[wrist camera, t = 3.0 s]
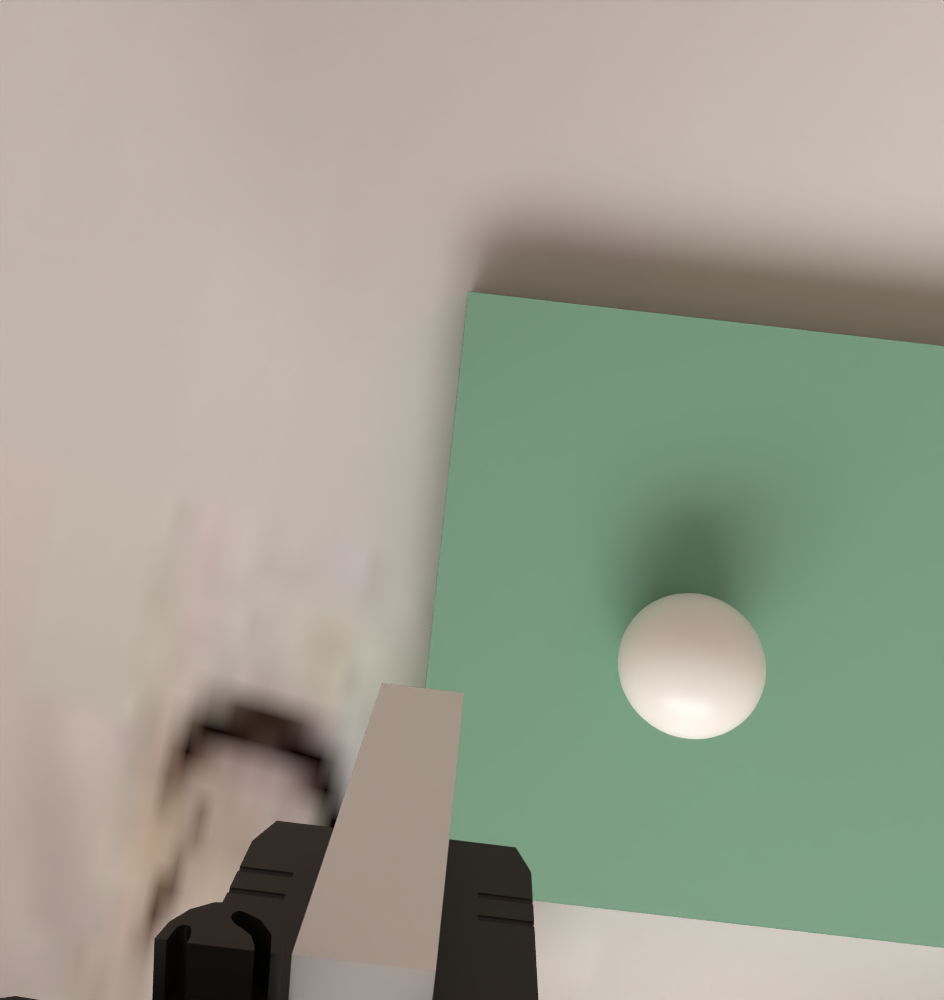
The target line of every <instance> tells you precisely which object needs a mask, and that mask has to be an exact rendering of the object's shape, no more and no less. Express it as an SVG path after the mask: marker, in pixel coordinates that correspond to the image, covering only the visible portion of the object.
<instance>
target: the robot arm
mask: <svg viewBox="0 0 944 1000" xmlns="http://www.w3.org/2000/svg"><path fill="white" fill-rule="evenodd" d="M463 698H464V693H460V692H451V691H443V690H435V689H426V688H418V687H410V686H401V685H393V684H385V683H382V685H381V688H380V691H379V694H378V697H377V700H376V703H375V706H374V709H373V712H372V715H371V718H370V721H369V724H368V727H367V730H366V733H365V736H364V739H363V742H362V745H361V748H360V751H359V754H358V757H357V760H356V763H355V766H354V769H353V772H352V775H351V778H350V781H349V784H348V787H347V790H346V793H345V796H344V799H343V802H342V805H341V808H340V811H339V814H338V817H337V820H336V823H335V826H334V828H332V827H324V826H316V825H307V824H299V823H291V822H283V821H276V822H275V823H274V824H272V825H271V826H270V827H269V828H267V829H266V830H265V831H264V832H263V833H261V834H260V835H259V836H258V837H256V838H255V839H254V840H253V841H252V843H251V845H250V847H249V849H248V851H247V853H246V855H245V857H244V859H243V861H242V863H241V865H240V870H239V871H238V872H237V874H236V876H235V878H234V880H233V882H232V884H231V886H230V890H229V893H227V895H226V897H225V899H224V901H223V902H215V903H211V904H207V905H204V906H200V907H196V908H193V909H190V910H188V911H186V912H185V913H183V914H181V915H180V916H178V917H176V918H175V919H173V920H171V921H170V922H169V923H168V924H167V925H166V926H165V927H164V928H163V930H162V931H161V932H160V933H159V934H158V935H157V937H156V938H155V943H154V972H153V1000H538V986H537V968H536V949H535V931H534V913H533V904H532V902H533V894H532V876H531V871H530V869H529V868H528V866H527V864H526V863H525V861H524V860H523V858H522V856H521V855H520V853H519V851H518V850H517V848H516V847H509V846H501V845H493V844H485V843H476V842H468V841H460V840H452V839H449V836H450V826H451V816H452V806H453V796H454V787H455V777H456V767H457V757H458V747H459V737H460V728H461V718H462V708H463ZM0 1000H36V999H30V998H24V997H18V996H13V997H6V998H0Z"/></svg>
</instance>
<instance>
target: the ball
mask: <svg viewBox="0 0 944 1000" xmlns="http://www.w3.org/2000/svg"><path fill="white" fill-rule="evenodd" d="M618 672H619V677H620V682H621V685H622V688H623V691H624V693H625V695H626V697H627V699H628V701H629V702H630V704H631V705H632V707H633V708H634V710H635V711H636V712H637V713H638V714H639V715H640V716H641V717H642V718H643V719H644V720H645V721H647V722H648V723H649V724H650V725H652V726H653V727H655V728H657V729H658V730H660V731H662V732H665V733H667V734H669V735H672V736H676V737H680V738H686V739H706V738H712V737H716V736H719V735H722V734H724V733H726V732H729V731H730V730H732V729H734V728H735V727H737V726H738V725H740V724H741V723H742V722H743V721H744V720H745V719H746V718H747V717H748V716H749V715H750V714H751V713H752V711H753V710H754V709H755V707H756V705H757V703H758V702H759V700H760V697H761V695H762V692H763V689H764V685H765V679H766V660H765V654H764V651H763V648H762V644H761V641H760V639H759V637H758V635H757V633H756V632H755V630H754V629H753V627H752V626H751V624H750V623H749V622H748V621H747V619H746V618H745V617H744V616H743V615H742V614H740V613H739V612H738V611H737V610H736V609H735V608H733V607H732V606H730V605H729V604H727V603H725V602H723V601H721V600H719V599H717V598H714V597H711V596H708V595H703V594H698V593H681V594H674V595H669V596H666V597H663V598H660V599H658V600H656V601H654V602H652V603H651V604H649V605H647V606H646V607H645V608H643V609H642V610H641V611H640V612H639V613H638V614H637V615H636V616H635V617H634V618H633V620H632V621H631V622H630V624H629V625H628V627H627V629H626V631H625V632H624V634H623V637H622V640H621V643H620V647H619V653H618Z"/></svg>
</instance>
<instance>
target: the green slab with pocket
mask: <svg viewBox="0 0 944 1000" xmlns="http://www.w3.org/2000/svg"><path fill="white" fill-rule="evenodd" d="M681 593H698V594H703V595H708V596H711V597H714V598H717V599H719V600H721V601H723V602H725V603H727V604H729V605H730V606H732V607H733V608H735V609H736V610H737V611H738V612H739V613H740V614H742V615H743V616H744V617H745V618H746V619H747V621H748V622H749V623H750V624H751V626H752V627H753V629H754V630H755V632H756V633H757V635H758V637H759V639H760V641H761V644H762V648H763V651H764V654H765V660H766V679H765V685H764V689H763V692H762V695H761V697H760V700H759V702H758V703H757V705H756V707H755V709H754V710H753V711H752V713H751V714H750V715H749V716H748V717H747V718H746V719H745V720H744V721H743V722H742V723H741V724H740V725H738V726H737V727H735V728H734V729H732V730H730V731H729V732H726V733H724V734H722V735H719V736H716V737H712V738H706V739H686V738H680V737H676V736H672V735H669V734H667V733H665V732H662V731H660V730H658V729H657V728H655V727H653V726H652V725H650V724H649V723H648V722H647V721H645V720H644V719H643V718H642V717H641V716H640V715H639V714H638V713H637V712H636V711H635V710H634V708H633V707H632V705H631V704H630V702H629V701H628V699H627V697H626V695H625V693H624V691H623V688H622V685H621V682H620V677H619V672H618V653H619V647H620V643H621V640H622V637H623V634H624V632H625V631H626V629H627V627H628V625H629V624H630V622H631V621H632V620H633V618H634V617H635V616H636V615H637V614H638V613H639V612H640V611H641V610H642V609H643V608H645V607H646V606H647V605H649V604H651V603H652V602H654V601H656V600H658V599H660V598H663V597H666V596H669V595H674V594H681ZM425 688H426V689H435V690H443V691H451V692H460V693H464V698H463V708H462V718H461V728H460V737H459V747H458V757H457V767H456V777H455V787H454V796H453V806H452V816H451V826H450V836H449V839H452V840H460V841H468V842H476V843H485V844H493V845H501V846H509V847H516V848H517V850H518V851H519V853H520V855H521V856H522V858H523V860H524V861H525V863H526V864H527V866H528V868H529V869H530V871H531V876H532V894H533V901H542V902H551V903H559V904H568V905H577V906H586V907H594V908H603V909H612V910H620V911H629V912H638V913H646V914H655V915H664V916H672V917H681V918H690V919H698V920H707V921H716V922H724V923H733V924H742V925H750V926H759V927H768V928H776V929H785V930H794V931H802V932H811V933H820V934H828V935H837V936H846V937H854V938H863V939H872V940H880V941H889V942H898V943H907V944H915V945H924V946H933V947H941V948H944V346H939V345H930V344H922V343H913V342H904V341H895V340H887V339H878V338H869V337H861V336H852V335H843V334H834V333H826V332H817V331H808V330H800V329H791V328H782V327H773V326H765V325H756V324H747V323H738V322H730V321H721V320H712V319H704V318H695V317H686V316H677V315H669V314H660V313H651V312H643V311H634V310H625V309H616V308H608V307H599V306H590V305H582V304H573V303H564V302H555V301H547V300H538V299H529V298H521V297H512V296H503V295H494V294H486V293H477V292H468V297H467V306H466V316H465V325H464V334H463V343H462V353H461V362H460V371H459V380H458V390H457V399H456V408H455V417H454V427H453V436H452V445H451V454H450V464H449V473H448V482H447V491H446V501H445V510H444V519H443V528H442V537H441V547H440V556H439V565H438V574H437V584H436V593H435V602H434V611H433V621H432V630H431V639H430V648H429V658H428V667H427V676H426V685H425Z"/></svg>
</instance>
